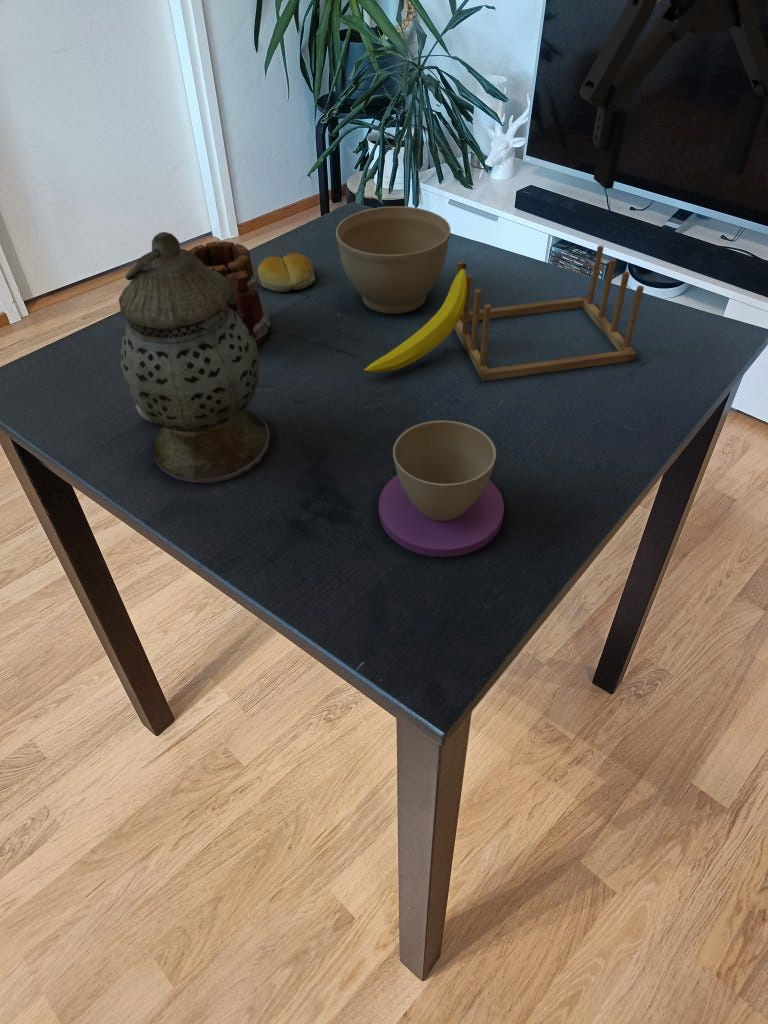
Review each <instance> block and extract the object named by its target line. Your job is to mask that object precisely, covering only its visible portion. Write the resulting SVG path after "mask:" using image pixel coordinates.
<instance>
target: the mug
mask: <svg viewBox="0 0 768 1024" xmlns="http://www.w3.org/2000/svg"><path fill="white" fill-rule="evenodd" d="M188 251H190V252H192V253H193V254H194V255H195V256H196V257H197V258H198V259H199V260H200V261H202V262H203V263H204V264H205V265H206V266H207V267H208V268H210V269H212V270H214V271H216V272H218V273H220V274H222V275H223V276H224V277H225V278H226V279H228V280H229V283H230V286H231V290H232V293H233V294H232V298H231V301H230V303H229V305H228V307H229V308H230V309H231V310H233V311H234V312H235V313H236V314H237V315H238V316H239V317H240V318H241V320H242V321H243V323H244V324H245V325H246V327H247V329H248V330H249V332H250V334H251V335H252V337H253V339H254V340H255V342H256V344H257V347H258V346H259V345H261V343H263V342H264V341H265V340H266V338H267V336H268V333H269V329H270V327H271V321H270V316H269V309H268V307H265V306H264V305H263V304H262V303H261V299H260V294H259V291H258V290H259V289H260V287H261V286H262V285H261V281H260V278H259V274H258V267H255V266H254V265H253V264H252V258H251V255H250V250H249V249H248V248H247V247H246V246H245V245H243V244H241V243H235V242H232V241H226V240H225V241H224V240H223V241H210V242H206V244H205V246H204V245H203V244H199V245H196V246H194V247H192V248H190V249H188Z"/></svg>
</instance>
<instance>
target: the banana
mask: <svg viewBox="0 0 768 1024" xmlns="http://www.w3.org/2000/svg"><path fill="white" fill-rule="evenodd" d="M467 267H468V265H467V263H466V262H463V264H462V269H461V270H460V272H459V273H458V274H457V273H456V276H455V278H454V280H452V281H453V282H452V283H451V286H450V289H449V291H448V292H447V296H446V298H445V300H444V302H443V303H442V305H441V307H440V308H439V310H438V311H437V312H436V313H435V314H434V315H433V316H432V317H431V318H430V320H428V322H426V323H425V324H424V325H423V326H422V327H421V328H420V329H418V331H416V332H415V333H413V335H411V336H410V337H409V338H407V339H406V340H404V341H403V342H401V344H398V345H397V346H396V347H395V348H393V349H392V350H390V352H388V353H386V354H384V355H383V356H381V357H379V358H377V359H376V360H375V361H373V362H372V363H369V365H367V367H366V368H364V369H363V371H364V372H369V373H384V372H385V373H386V372H391V371H397V370H399V369H402V368H405V367H407V366H409V365H410V364H412V363H415V362H416V361H418V360H419V359H421V358H423V357H424V356H426V355H428V353H430V352H431V351H433V350H434V349H435V348H437V347H438V346H439V345H441V343H443V342H444V341H445V340H446V339H447V338H448V336H450V334H451V333H452V332H453V330H454V327H455V326H456V325H457V323H458V321H459V319H460V317H461V315H462V312H464V306H465V301H466V294H467V277H466V276H467V271H466V269H467Z"/></svg>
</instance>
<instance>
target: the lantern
mask: <svg viewBox="0 0 768 1024" xmlns="http://www.w3.org/2000/svg"><path fill="white" fill-rule="evenodd" d="M124 277H125V279H126V280H128V281H129V283H128V285H127V286H126V287H125V288H124V289H123V290H122V292H121V294H120V296H119V298H118V303H119V309H120V313H121V315H122V316H123V317H124V318H125V320H126V325H125V326H126V327H125V329H124V333H123V336H122V340H121V341H120V360H119V361H120V362H119V363H120V365H119V366H120V370H121V373H122V377H123V379H124V383H125V386H126V389H127V390H128V393H129V395H130V397H131V399H132V400H133V401H134V403H135V405H136V404H137V405H138V406H139V408H140V409H141V410H142V412H143V413H144V414H145V415H146V416H147V417H148V418H149V419H150V420H151V421H152V422H151V423H152V424H154V425H156V426H159V427H161V428H159V430H158V431H157V433H156V435H155V438H154V441H153V444H152V451H153V458H154V461H155V462H156V464H157V465H158V467H159V468H160V469H161V471H162V472H164V473H165V474H167V475H168V476H170V477H171V478H174V479H176V480H179V481H184V482H187V483H192V484H213V483H218V482H224V481H228V480H232V479H234V478H237V477H239V476H241V475H243V474H246V473H248V472H249V471H250V470H251V469H253V468H254V467H256V465H259V463H261V461H263V459H264V457H265V456H266V454H267V453H268V451H269V449H270V448H269V447H270V443H271V434H270V430H269V426H268V424H267V422H266V421H265V420H264V419H262V418H261V416H260V415H258V413H255V412H253V411H251V410H249V409H248V408H247V407H248V406H249V403H250V402H251V400H252V399H253V397H254V396H255V393H256V389H257V386H258V382H259V380H260V357H259V352H258V346H257V344H256V342H255V340H254V339H253V337H252V335H251V334H250V332H249V330H248V329H247V327H246V325H245V324H244V323H243V321H242V320H241V318H240V317H239V316H238V315H237V314H236V313H235V312H234V311H233V310H231V309H230V308H229V307H228V305H229V303H230V301H231V298H232V294H233V293H232V290H231V286H230V283H229V280H228V279H226V278H225V277H224V276H223V275H222V274H220V273H218V272H216V271H214V270H212V269H210V268H208V267H207V266H206V265H205V264H204V263H203V262H202V261H200V260H199V259H198V258H197V257H196V256H195V255H194V254H193V253H192V252H190V251H189V250H187V249H184V248H181V245H180V241H179V240H178V238H177V237H176V236H175V235H174V234H173V233H171V232H167V231H162V232H159V233H157V234H155V235H154V236H153V239H152V240H151V251H149V252H147V253H145V254H144V255H142V256H141V257H140V258H138V259H137V261H136V265H134V266H133V267H132V268H131V269H129V270H128V271H127V272H126V273H125V276H124Z"/></svg>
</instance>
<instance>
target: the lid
mask: <svg viewBox="0 0 768 1024" xmlns="http://www.w3.org/2000/svg"><path fill="white" fill-rule="evenodd" d="M504 515H505V504H504V498H503V496H502V494H501V492H500V490H499V488H498V487H497V486H496V485H495V483H493V481H492V480H491V479H489V481H488V483H487V485H486V487H485V488H484V490H483V492H482V493H481V495H480V496H479V497H478V499H477V500H476V501H475V502H474V504H473V505H472V506H471V507H470V508H469V509H468V510H467V511H466V512H464V513H463V514H462V515H461V516H459V517H457V518H455V519H452V520H447V521H439V520H434V519H431V518H428V517H426V516H425V515H424V514H422V513H421V512H420V511H419V510H418V509H417V508H416V506H415V505H414V504H413V503H412V502H411V500H410V499H409V497H408V496H407V494H406V492H405V491H404V489H403V487H402V485H401V482H400V480H399V477H398V474H397V473H396V475H395V476H393V477H392V478H391V479H390V480H388V482H387V483H386V484H385V485H384V486H383V488H382V490H381V493H380V495H379V499H378V516H379V522H380V524H381V527H382V528H383V530H384V532H385V533H386V534H387V536H388V537H389V538H390V539H391V540H392V541H394V542H395V543H396V544H397V545H399V546H400V547H402V548H404V549H405V550H408V551H410V552H413V553H416V554H419V555H423V556H427V557H433V558H453V557H459V556H463V555H464V556H465V555H469V554H471V553H473V552H476V551H478V550H480V549H482V548H483V547H485V546H486V545H488V544H489V543H490V542H492V540H493V539H494V538H495V537H496V536H497V534H499V532H500V530H501V527H502V525H503V522H504V521H503V520H504Z"/></svg>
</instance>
